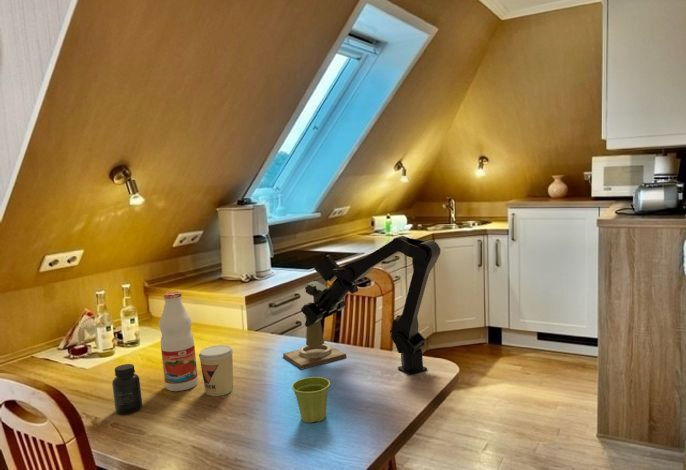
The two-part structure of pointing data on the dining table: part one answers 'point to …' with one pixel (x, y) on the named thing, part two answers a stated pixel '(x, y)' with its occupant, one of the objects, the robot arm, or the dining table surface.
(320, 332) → the olive brown pestle
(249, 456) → the dining table surface
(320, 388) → the plant pot
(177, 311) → the fruit juice
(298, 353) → the ring board
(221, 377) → the white canister
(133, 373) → the supplement bottle
